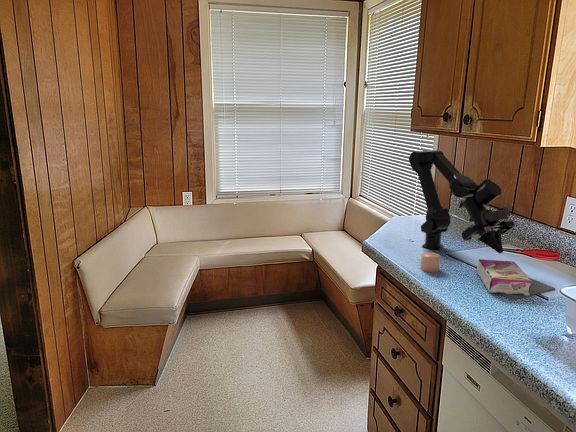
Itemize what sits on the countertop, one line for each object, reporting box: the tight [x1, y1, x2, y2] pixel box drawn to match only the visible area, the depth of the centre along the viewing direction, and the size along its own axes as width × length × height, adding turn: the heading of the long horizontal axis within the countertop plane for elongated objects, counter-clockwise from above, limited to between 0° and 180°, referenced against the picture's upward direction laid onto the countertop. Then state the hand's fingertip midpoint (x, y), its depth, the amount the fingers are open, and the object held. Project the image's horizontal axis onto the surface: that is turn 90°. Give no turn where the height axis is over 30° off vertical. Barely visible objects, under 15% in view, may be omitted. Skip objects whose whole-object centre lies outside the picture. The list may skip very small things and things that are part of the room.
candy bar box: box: [476, 258, 532, 297], centre depth 129 cm, size 11×5×16 cm
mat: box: [483, 276, 556, 301], centre depth 127 cm, size 10×18×1 cm, turn 113°
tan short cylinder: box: [420, 251, 441, 273], centre depth 142 cm, size 6×6×5 cm
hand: (501, 252), depth 135 cm, fingers closed
